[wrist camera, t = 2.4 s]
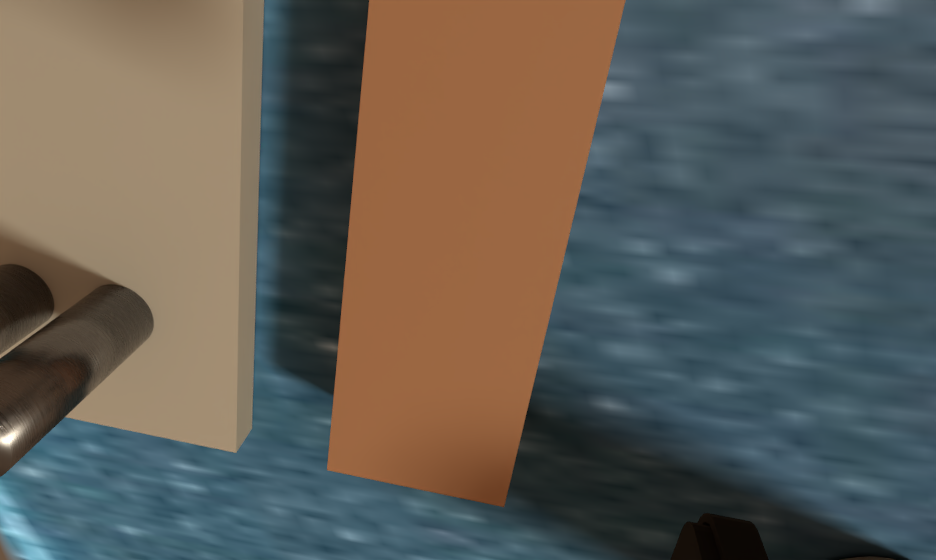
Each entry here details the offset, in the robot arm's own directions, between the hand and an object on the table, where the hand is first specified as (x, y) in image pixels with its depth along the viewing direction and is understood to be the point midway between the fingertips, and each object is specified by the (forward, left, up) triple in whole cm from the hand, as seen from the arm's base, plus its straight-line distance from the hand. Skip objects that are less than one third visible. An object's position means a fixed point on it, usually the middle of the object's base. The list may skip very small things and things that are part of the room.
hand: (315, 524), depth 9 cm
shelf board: (-1, 0, -15) cm, 15 cm away
